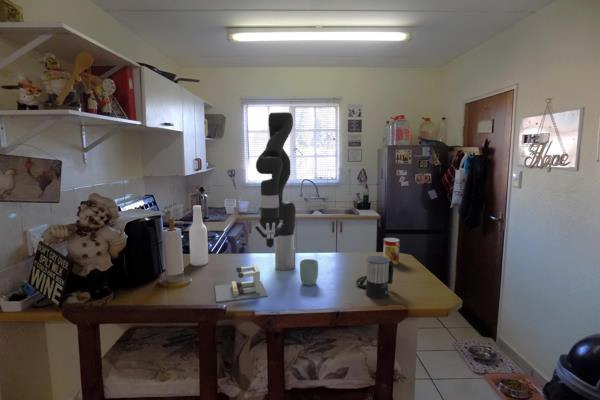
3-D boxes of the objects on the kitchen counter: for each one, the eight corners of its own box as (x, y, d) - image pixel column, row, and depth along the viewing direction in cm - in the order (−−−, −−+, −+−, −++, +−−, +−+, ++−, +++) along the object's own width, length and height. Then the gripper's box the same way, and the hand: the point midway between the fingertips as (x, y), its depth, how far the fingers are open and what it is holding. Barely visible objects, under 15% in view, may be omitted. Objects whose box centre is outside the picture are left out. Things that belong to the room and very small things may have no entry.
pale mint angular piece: (256, 284, 150) (256, 264, 148) (260, 292, 141) (259, 271, 140) (236, 286, 147) (235, 266, 146) (238, 295, 139) (238, 273, 138)
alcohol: (195, 260, 184) (192, 204, 180) (210, 261, 183) (208, 204, 178) (187, 265, 175) (184, 207, 171) (204, 266, 174) (201, 207, 170)
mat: (261, 282, 154) (261, 276, 153) (267, 296, 139) (267, 290, 138) (214, 286, 148) (214, 280, 148) (216, 302, 133) (216, 295, 133)
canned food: (400, 264, 178) (401, 241, 176) (384, 264, 178) (385, 241, 176) (396, 259, 185) (397, 237, 184) (381, 259, 186) (382, 237, 184)
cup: (319, 281, 154) (320, 260, 153) (314, 288, 147) (315, 265, 145) (303, 279, 157) (303, 258, 155) (297, 286, 149) (297, 263, 148)
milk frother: (383, 301, 135) (385, 264, 133) (346, 292, 143) (347, 257, 141) (395, 288, 147) (396, 254, 144) (360, 281, 155) (361, 249, 153)
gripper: (283, 203, 147) (283, 243, 150) (252, 204, 144) (252, 245, 146) (287, 206, 140) (287, 248, 143) (254, 207, 137) (255, 250, 139)
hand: (269, 246), depth 144 cm, fingers closed
